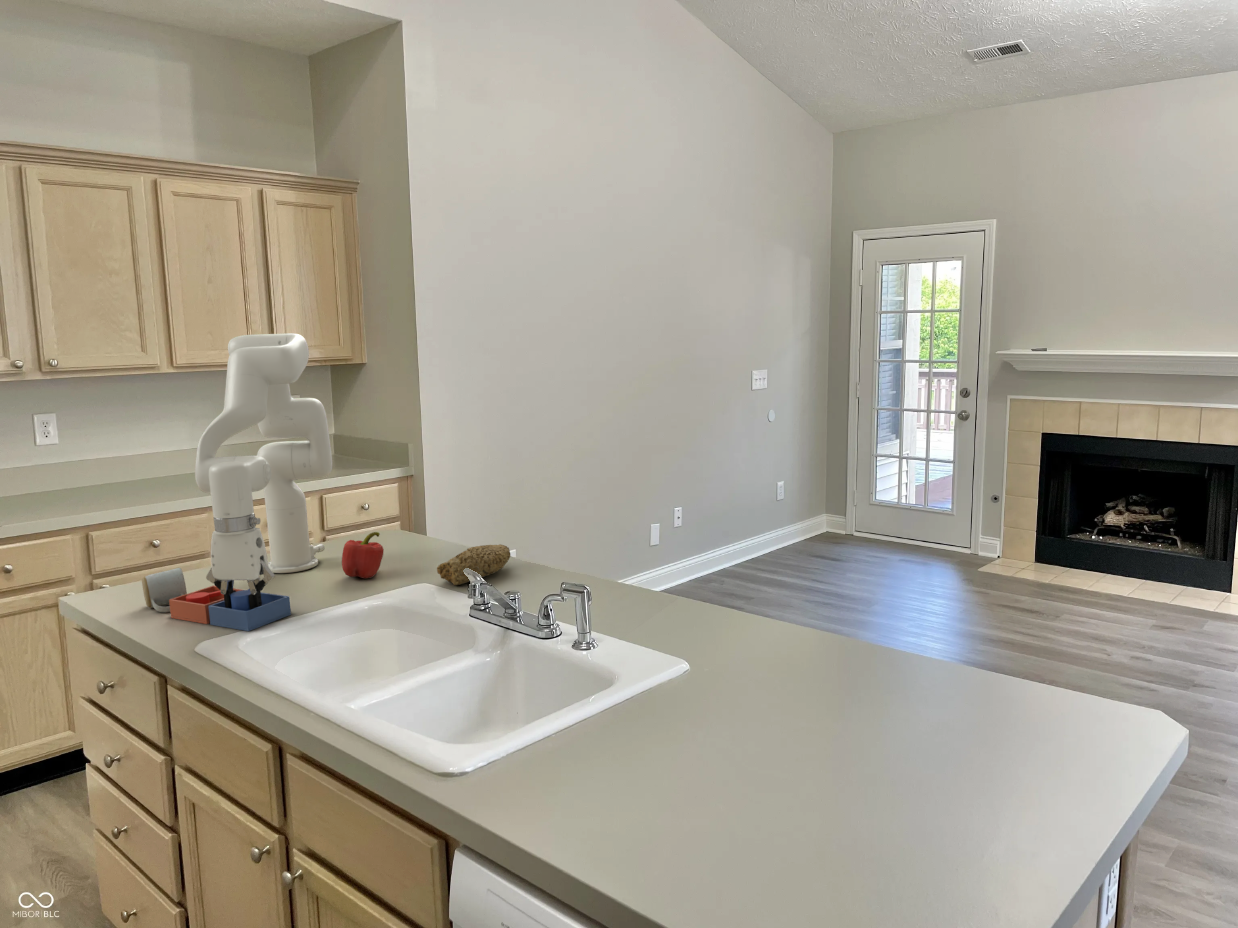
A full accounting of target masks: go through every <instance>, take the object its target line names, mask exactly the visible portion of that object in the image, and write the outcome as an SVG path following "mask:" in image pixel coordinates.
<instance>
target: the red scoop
mask: <svg viewBox="0 0 1238 928" xmlns="http://www.w3.org/2000/svg"><path fill="white" fill-rule="evenodd" d="M220 595H223V594H221V592H220V591H215V592H211V593H206V592H199V593H193V594H190V595H187V596H186V602H193V603H199V604H205V605H206V604H208V603H210V600H209V598H211V597H216V596H220Z"/></svg>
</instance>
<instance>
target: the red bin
mask: <svg viewBox="0 0 1238 928" xmlns="http://www.w3.org/2000/svg"><path fill="white" fill-rule="evenodd" d="M233 590H236V592H237V591H242V590H243V589H241V588H235V587H233ZM215 591H220V590H219V589H218V588H217V587H216V586H215V585H214V584H213V585H209V586H207V587H204V588H201V589H198V590H195V591H191V592H187V594H185V595H182V596H179V597H176V598H173V599H170V600H169V603H170V605H169V606H170V612H169V613H170V618H171V619H174V620H175V619H176V620H179V621H187V622H192V623H197V624H198V623H199V624H204V625H209V624H210V616H209V607H208V606H210V605H213V604H216V603H219V602H221V601H224V595H220V596H216V597H211V598H209V600H210V603H208V604H206V605H205V604H199V603H193V602H186V596H187V595H190V594H193V593H199V592H206V593H211V592H215Z"/></svg>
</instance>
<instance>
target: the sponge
mask: <svg viewBox="0 0 1238 928" xmlns="http://www.w3.org/2000/svg"><path fill="white" fill-rule="evenodd" d="M510 558H511V550H510V547H508V546H507V545H504V544H501V543H499V544H484V545H476V546H471V547H469V548H466V550H464V551H462V552H460V553H459V554H457V555H455V556H453V557H452V558H450V559H448V560H447V561H445V562H442V563H440V564H438V566H437V567H436V572H437V574H438V575H439V576H440V579H443V580H445V581H447V582H449V583H452V584H453V586H459V585H463V584H466V583H469V579H468V577H467V576H466V575H465V574H464V572H463V570H464V569H465V568H469V569H471V570H473V571H475V572H477V573H478V574H480V575H481V576H482V577H481V578H485V577H487V576H490V575H493V574H495V573H497V572H498V571H500V570H501V569H503V568H504V567H505V565H507V563H508V562H509V561H510Z"/></svg>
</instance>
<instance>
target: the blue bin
mask: <svg viewBox="0 0 1238 928" xmlns="http://www.w3.org/2000/svg"><path fill="white" fill-rule="evenodd" d="M290 599H291V598H290V596H289V595H283V594H276V593H270V592H263V591H261V600H262V606H259V607H257V608H254V609H251V610H248V611H243V610H237V609H230V608H225V601H221V602H219V603H216V604H213V605H210V606H208V607H209V616H210V623H209V624H210V626H214V627H215V626H216V627H222V628H227V629H232V630H239V631H244V632H251V631H253V630H255V629H256V630H257V629H258V628H260V627H264V626H267V625H268V624H271V623H274V622H276V621H279V620H281V619H283V618H286V617H289V616H291V615H292V610H291V600H290Z"/></svg>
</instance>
